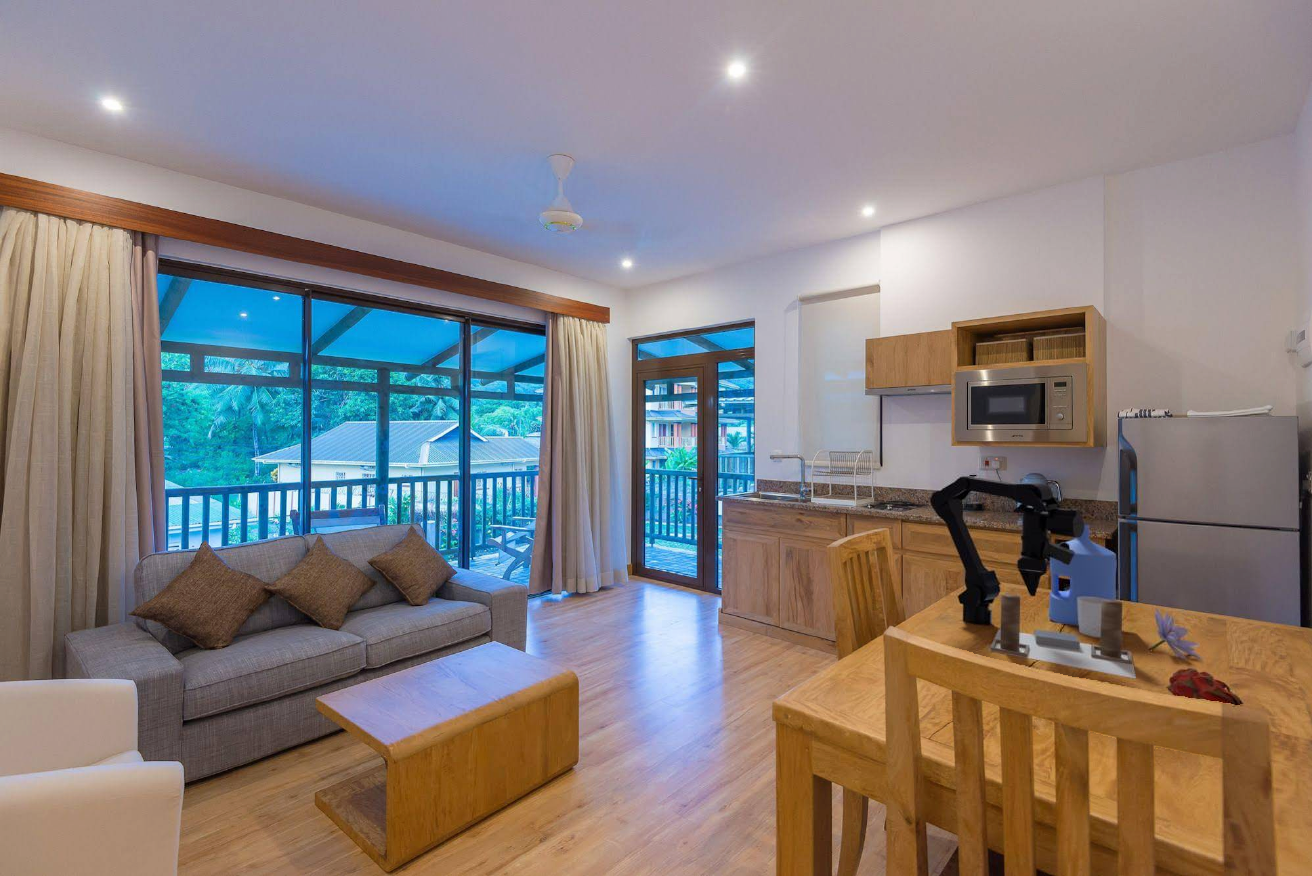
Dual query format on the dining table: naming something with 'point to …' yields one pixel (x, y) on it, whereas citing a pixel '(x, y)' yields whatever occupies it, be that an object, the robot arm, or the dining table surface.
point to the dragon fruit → (1201, 687)
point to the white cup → (1089, 615)
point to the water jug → (1082, 578)
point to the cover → (1056, 639)
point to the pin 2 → (1111, 628)
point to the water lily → (1173, 636)
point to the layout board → (1070, 656)
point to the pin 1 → (1010, 622)
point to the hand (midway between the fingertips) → (1034, 592)
